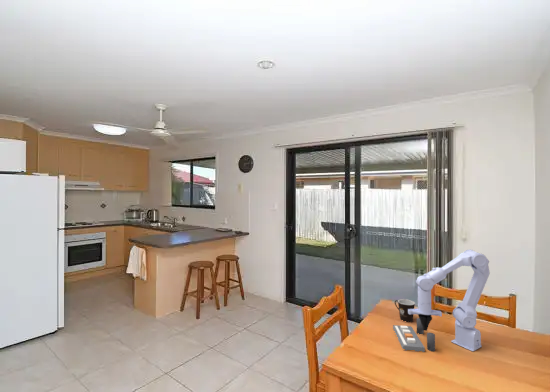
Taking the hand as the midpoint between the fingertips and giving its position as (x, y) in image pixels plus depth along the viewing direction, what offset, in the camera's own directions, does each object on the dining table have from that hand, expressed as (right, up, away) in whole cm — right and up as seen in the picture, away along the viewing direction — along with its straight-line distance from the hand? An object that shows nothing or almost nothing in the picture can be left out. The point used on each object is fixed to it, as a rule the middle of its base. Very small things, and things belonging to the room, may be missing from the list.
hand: (424, 329), depth 133 cm
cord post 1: (+2, -5, +7) cm, 9 cm away
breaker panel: (-8, -6, +1) cm, 9 cm away
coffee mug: (+2, -5, +24) cm, 25 cm away
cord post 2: (-1, -6, -7) cm, 9 cm away
